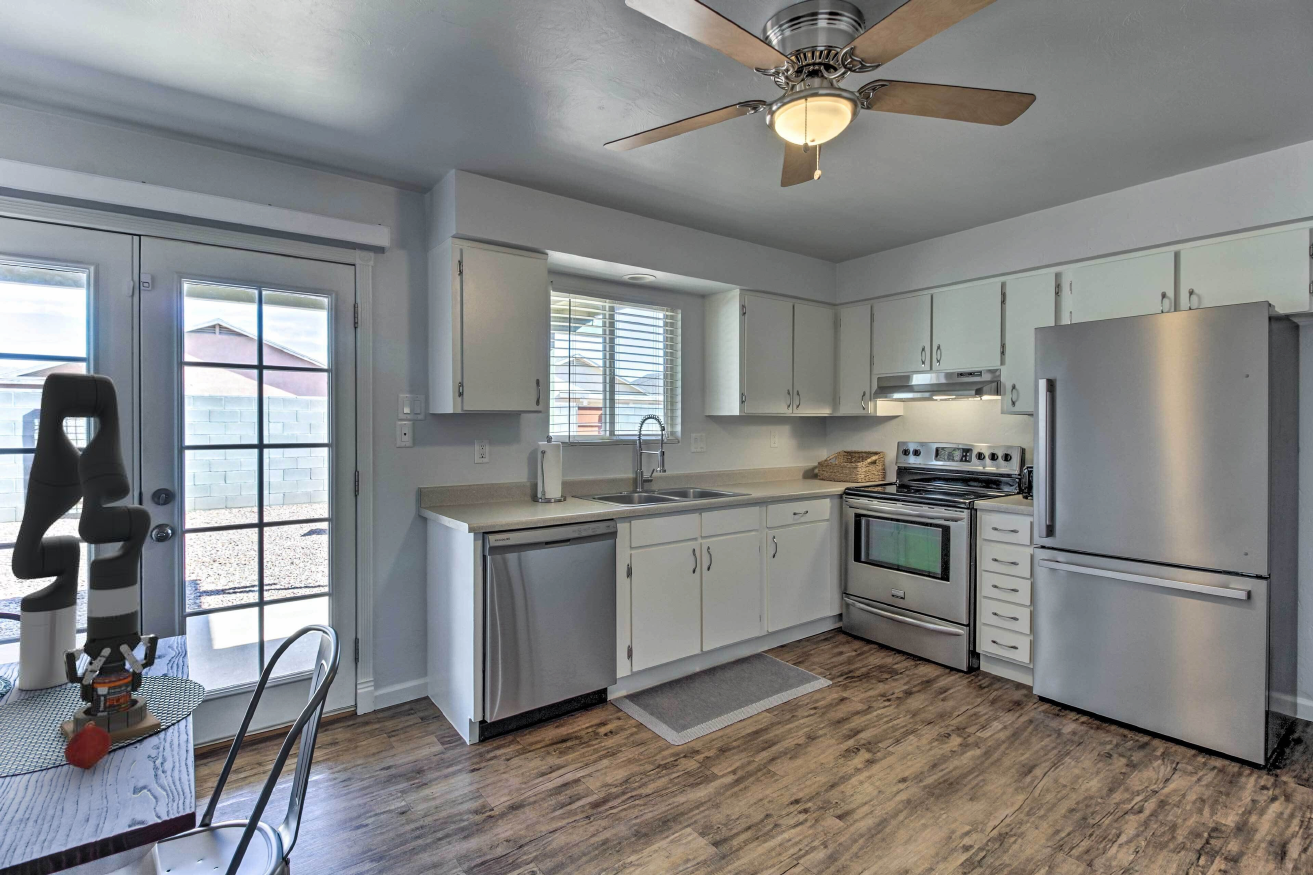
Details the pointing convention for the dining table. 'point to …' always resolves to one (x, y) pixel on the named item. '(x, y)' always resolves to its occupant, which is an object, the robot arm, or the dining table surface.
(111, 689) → the supplement bottle
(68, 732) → the ring holder
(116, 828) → the dining table surface
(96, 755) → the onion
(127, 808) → the dining table surface
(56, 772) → the dining table surface
